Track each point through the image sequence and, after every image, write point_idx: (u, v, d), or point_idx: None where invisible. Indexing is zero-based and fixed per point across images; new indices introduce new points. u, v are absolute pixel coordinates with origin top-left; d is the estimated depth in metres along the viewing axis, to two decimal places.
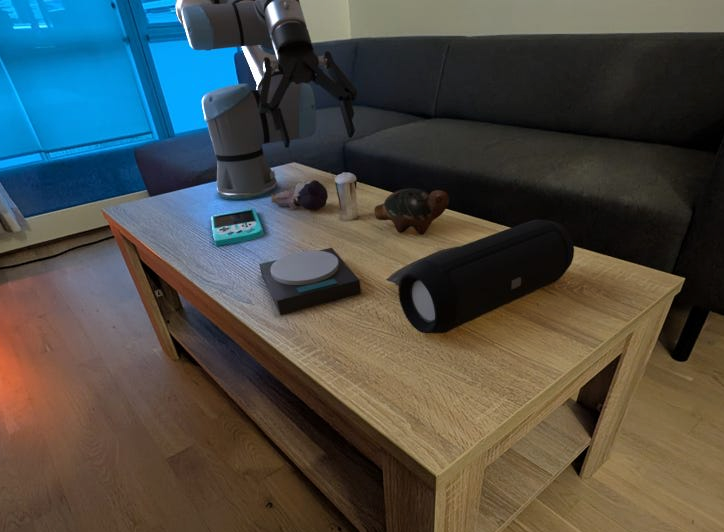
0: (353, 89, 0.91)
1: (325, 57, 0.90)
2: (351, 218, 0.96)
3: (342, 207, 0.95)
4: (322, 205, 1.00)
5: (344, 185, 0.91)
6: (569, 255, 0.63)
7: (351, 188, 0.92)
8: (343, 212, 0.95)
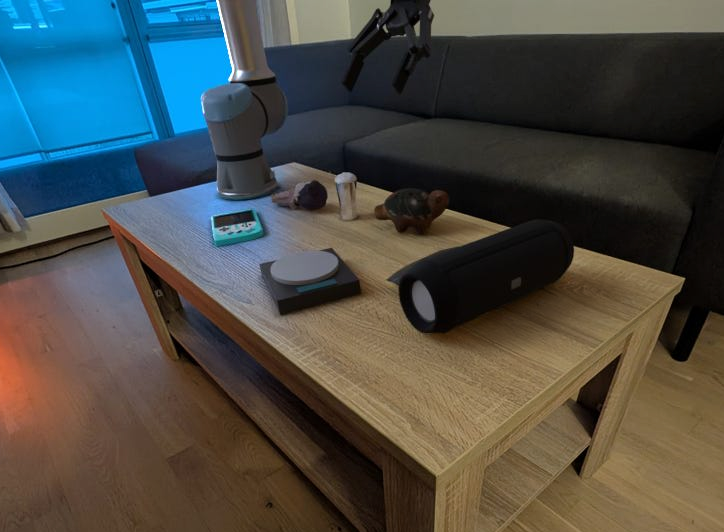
0: None
1: None
2: (351, 218, 0.96)
3: (342, 207, 0.95)
4: (322, 205, 1.00)
5: (344, 185, 0.91)
6: (569, 255, 0.63)
7: (351, 188, 0.92)
8: (343, 212, 0.95)
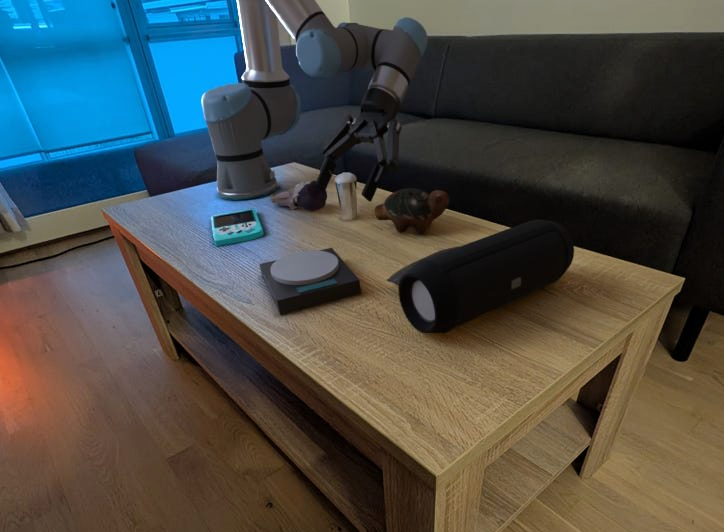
0: None
1: None
2: (351, 218, 0.96)
3: (342, 207, 0.95)
4: (321, 205, 0.99)
5: (344, 185, 0.91)
6: (569, 255, 0.63)
7: (351, 188, 0.92)
8: (343, 212, 0.95)
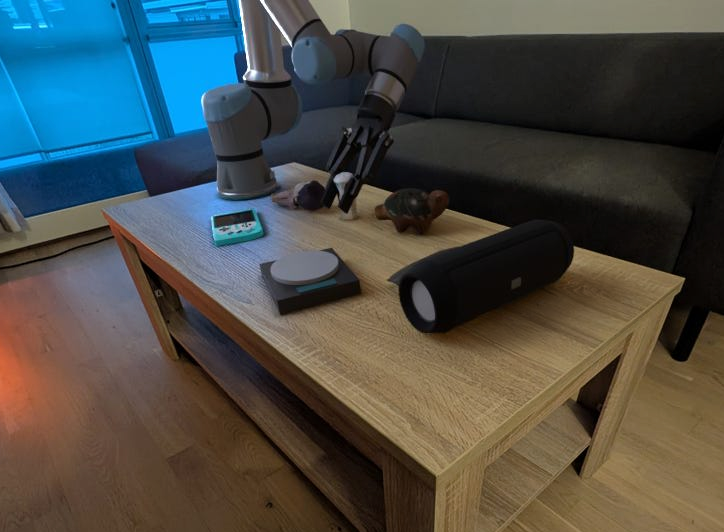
0: None
1: None
2: (351, 218, 0.96)
3: None
4: (321, 205, 0.99)
5: (343, 185, 0.91)
6: (569, 255, 0.63)
7: None
8: (343, 212, 0.95)
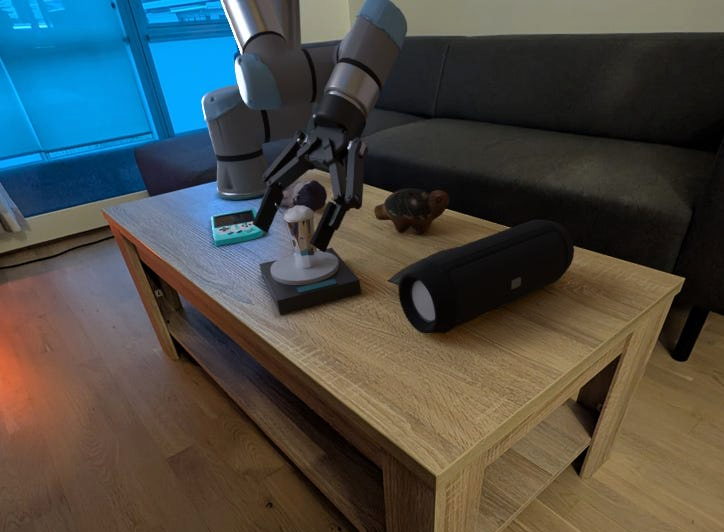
0: None
1: None
2: (309, 266, 0.71)
3: (296, 252, 0.70)
4: (321, 205, 0.99)
5: (296, 224, 0.66)
6: (569, 255, 0.63)
7: (306, 228, 0.67)
8: (297, 258, 0.70)
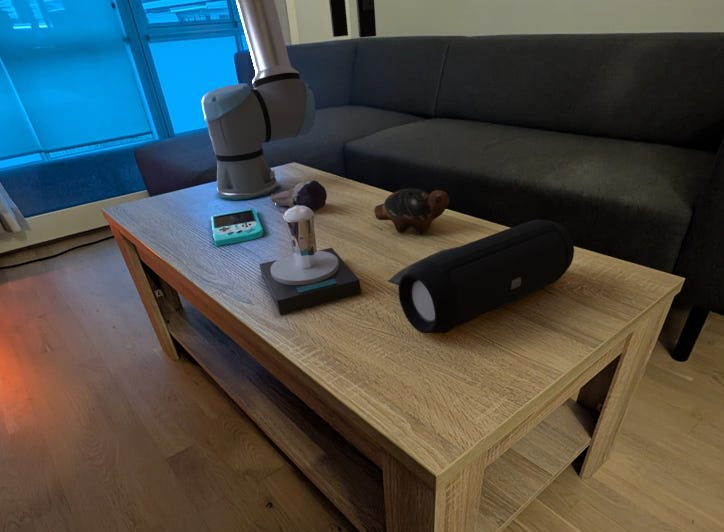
0: None
1: None
2: (309, 266, 0.71)
3: (296, 252, 0.70)
4: (321, 205, 0.99)
5: (296, 224, 0.66)
6: (569, 255, 0.63)
7: (306, 228, 0.67)
8: (297, 258, 0.70)
